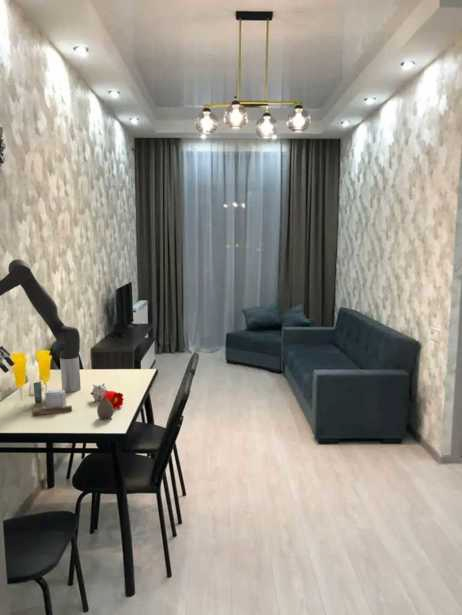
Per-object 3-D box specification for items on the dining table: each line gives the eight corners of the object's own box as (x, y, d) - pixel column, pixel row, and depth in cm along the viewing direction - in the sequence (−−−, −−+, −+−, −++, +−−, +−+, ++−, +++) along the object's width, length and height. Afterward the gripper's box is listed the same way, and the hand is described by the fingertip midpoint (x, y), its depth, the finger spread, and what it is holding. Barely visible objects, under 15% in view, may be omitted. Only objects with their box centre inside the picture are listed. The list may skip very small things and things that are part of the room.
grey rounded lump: (99, 415, 222) (98, 396, 220) (115, 415, 222) (113, 395, 221) (96, 421, 215) (95, 401, 214) (112, 420, 215) (111, 400, 214)
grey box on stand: (35, 403, 240) (33, 382, 239) (71, 398, 245) (70, 378, 244) (32, 415, 223) (31, 393, 221) (71, 411, 228) (70, 389, 226)
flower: (114, 391, 239) (126, 393, 234) (110, 407, 237) (121, 410, 233) (102, 388, 233) (113, 390, 228) (97, 405, 231) (109, 407, 226)
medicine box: (66, 408, 233) (65, 389, 232) (63, 411, 229) (62, 392, 227) (49, 408, 233) (48, 390, 232) (46, 411, 229) (44, 393, 227)
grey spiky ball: (102, 408, 242) (102, 396, 235) (86, 402, 243) (86, 389, 236) (111, 395, 248) (112, 383, 241) (96, 388, 249) (96, 376, 243)
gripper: (-13, 342, 225) (12, 369, 229) (-2, 332, 239) (21, 358, 243) (-26, 351, 225) (-2, 378, 229) (-15, 341, 239) (8, 367, 243)
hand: (10, 368), depth 236 cm, fingers open, 8 cm apart
